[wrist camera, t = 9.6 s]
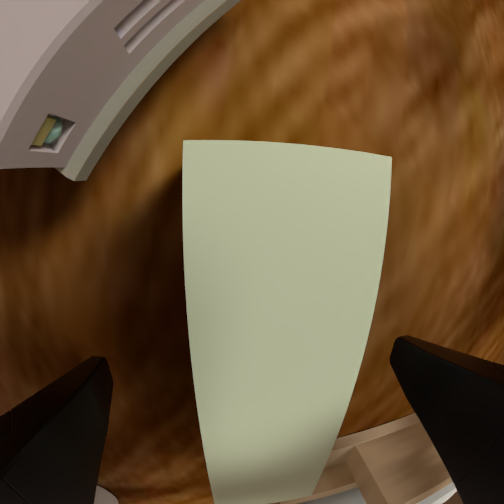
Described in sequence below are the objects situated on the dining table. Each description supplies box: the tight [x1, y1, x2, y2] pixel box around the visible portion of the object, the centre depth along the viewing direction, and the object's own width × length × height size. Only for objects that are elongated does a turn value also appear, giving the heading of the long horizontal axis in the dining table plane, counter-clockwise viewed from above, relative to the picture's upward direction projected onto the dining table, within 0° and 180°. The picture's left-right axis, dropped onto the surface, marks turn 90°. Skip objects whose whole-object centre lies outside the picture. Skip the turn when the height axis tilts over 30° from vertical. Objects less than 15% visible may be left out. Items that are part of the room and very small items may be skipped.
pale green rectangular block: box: [182, 140, 392, 504], centre depth 8 cm, size 4×11×4 cm, turn 178°
